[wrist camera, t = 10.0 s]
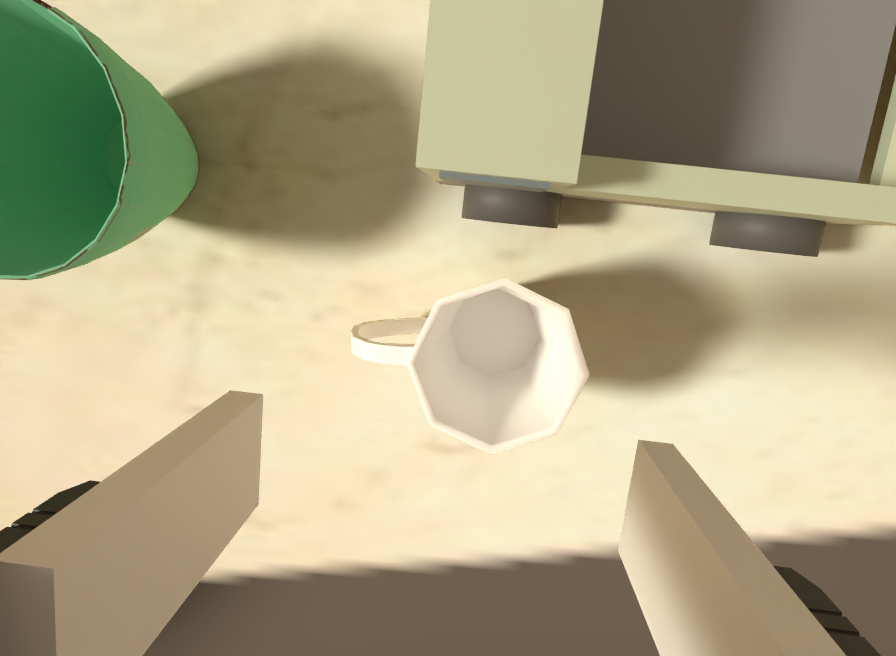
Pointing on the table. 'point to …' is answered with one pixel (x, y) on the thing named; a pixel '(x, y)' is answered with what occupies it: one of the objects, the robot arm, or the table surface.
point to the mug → (79, 146)
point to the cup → (487, 363)
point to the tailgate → (886, 148)
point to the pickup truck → (660, 111)
